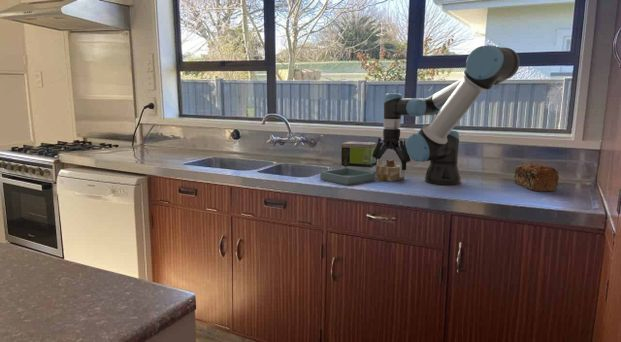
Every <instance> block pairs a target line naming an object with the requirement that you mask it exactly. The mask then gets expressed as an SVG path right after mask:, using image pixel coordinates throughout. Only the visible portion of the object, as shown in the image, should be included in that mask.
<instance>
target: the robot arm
mask: <svg viewBox="0 0 621 342" xmlns="http://www.w3.org/2000/svg"><path fill="white" fill-rule="evenodd" d="M520 64H521V63H520V57H519V55H518V53H517V52H516V51H515V50H514V49H511V48H509V47H501V46H496V45H490V44H488V45H480V46H478V47H476V48H475V49H473V50H472V51H471V52H470V53H469V54H468V56H467V58H466V61H465V69H464V70H463V73H462V74H463V77H462V78H461V79H459V80H457V81H455V82H452V84H450V85H448V86H446V87H444V88H443V89H440V90H439V91H437V92H435V93H434V94H432V95H430V96H428V97H424V98H422V97H421V98H418V97H413V98H411V97H409V98H408V97H407V98H406V97H404V98H403V96H402V94H401V93H385V95H384V101H383V124H382V126H383V130H382V136H383V137H379V138H378V139H377V142H376V148H375V150H374V153H373V155H372V156H373V157H375V159H376V166H377V165H383V163H382V161H383V159H382V157H383V155H384V154H385V153H386V152H387V150H393V151H394V152H395V153H396V156H398V159H399V161H400V163H399V165H400V174H399V177H400V178H401V177H404V178H405V176H406V175H405V174H406V173H405V172H406V170H407V163H409V162H411V160H413V161H414V162H418V163H419V162H421V163H425V162H428V161H429V164H428V167H427V169H426V173H425V175H424V181H425V182H426V183H430V184H433V185H442V186H443V185H445V186H446V185H447V186H448V185H449V186H451V185H458V184H460V183H461V180H462V179H461V174H460V169H459V166H458V158H459V142H460V136H459V131H457V130H453V129H454V128H455V127H456V125H457V124H458V123H459V122H460V120H461V119H462V118H463V117H464V115H465V114H466V113H467V112H468V111H469V110H470V108H471V107H472V106H473V104H474V103H475V102H476V101H477V99H479V97H480V96H481V94H482V93H483V92H484V91H489V90H491V89H492V87H494V86H496V85H499V84H500V83H503V82H504V81H507V80H509V79H510V78H512V77H513V76H515V75H516V74H517V72H518V71H519V68H520ZM402 116H406V117H412V118H414V117H422V116H434V117H433V119H432V120H431V121H430V122H429V123H427V124H425V123H424V125H423V126H422V127H420V129H419V131H418V132H417V133H413V134H411V135H410V136H408V138H407V140H405V139H402V140H401V139H400V137H401V129H400V128H401V123H402V122H401V120H402V119H401V118H402Z"/></svg>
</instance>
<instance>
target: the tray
mask: <svg viewBox="0 0 621 342" xmlns="http://www.w3.org/2000/svg"><path fill="white" fill-rule="evenodd" d="M375 179H376V172H374V173H371V172H366V171H360V170H355V169H350V168H343V169H341V168H338V169H332V170H331V169H330V170H322V171H320V180H322V181H326V182H329V183H334V184H338V183H339V185H344V186H347V187H348V186H353V185H359V184H365V183H371V182H375Z"/></svg>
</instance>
